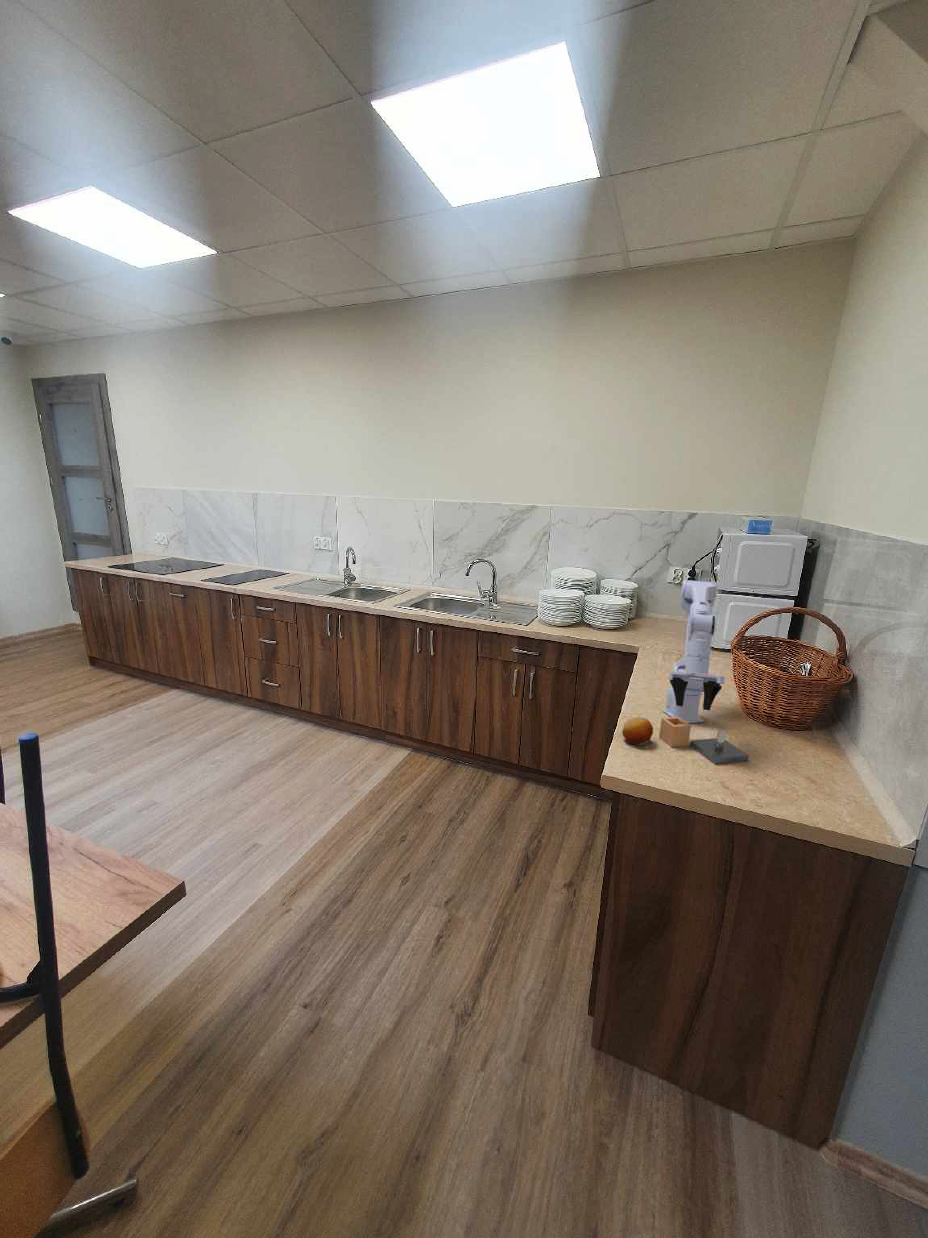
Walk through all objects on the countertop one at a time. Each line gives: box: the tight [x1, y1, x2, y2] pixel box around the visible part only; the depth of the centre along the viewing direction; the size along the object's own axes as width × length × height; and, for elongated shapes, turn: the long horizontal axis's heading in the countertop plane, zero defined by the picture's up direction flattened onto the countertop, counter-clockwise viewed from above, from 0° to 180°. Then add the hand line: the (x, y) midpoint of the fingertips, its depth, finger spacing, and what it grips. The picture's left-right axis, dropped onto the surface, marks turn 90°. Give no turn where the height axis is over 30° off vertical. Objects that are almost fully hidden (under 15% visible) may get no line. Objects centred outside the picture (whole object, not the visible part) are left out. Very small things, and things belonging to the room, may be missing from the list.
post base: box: [689, 729, 750, 765], centre depth 135 cm, size 10×10×6 cm
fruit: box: [621, 716, 654, 747], centre depth 140 cm, size 8×8×8 cm
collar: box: [658, 716, 692, 748], centre depth 141 cm, size 5×5×6 cm
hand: (692, 708), depth 136 cm, fingers open, 7 cm apart
